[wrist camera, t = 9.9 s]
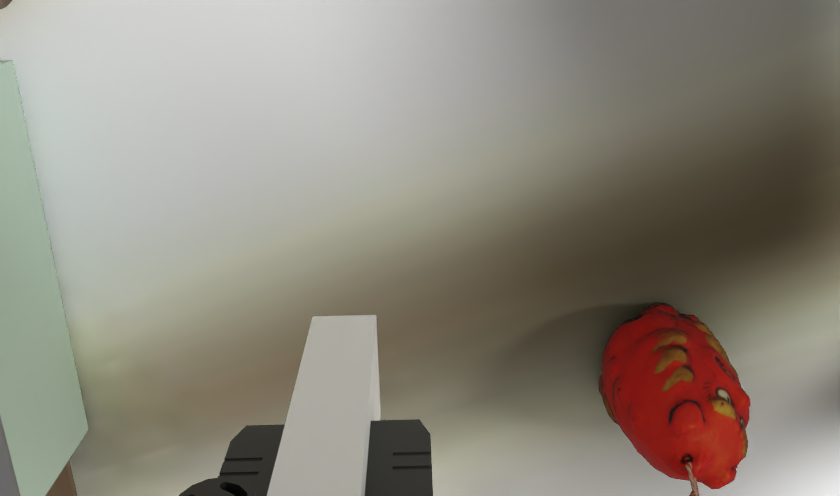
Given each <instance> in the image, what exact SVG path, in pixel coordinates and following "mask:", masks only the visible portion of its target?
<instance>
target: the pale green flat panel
mask: <svg viewBox="0 0 840 496" xmlns="http://www.w3.org/2000/svg"><path fill="white" fill-rule="evenodd" d="M88 430H89V429H88V424H87V419H86V414H85V410H84V405H83V400H82V395H81V390H80V385H79V380H78V375H77V371H76V366H75V361H74V356H73V351H72V346H71V341H70V336H69V332H68V327H67V322H66V317H65V312H64V307H63V302H62V298H61V293H60V288H59V283H58V278H57V273H56V268H55V263H54V259H53V254H52V249H51V244H50V239H49V234H48V229H47V225H46V220H45V215H44V210H43V205H42V200H41V195H40V190H39V186H38V181H37V176H36V171H35V166H34V161H33V156H32V151H31V147H30V142H29V137H28V132H27V127H26V122H25V117H24V113H23V108H22V103H21V98H20V93H19V88H18V83H17V78H16V74H15V69H14V64H13V60H7V61H0V496H45V495H46V494H47V492H48V491H49V489H50V488H51V486H52V485H53V483H54V482H55V480H56V479H57V477H58V476H59V474H60V473H61V471H62V469H63V468H64V466H65V465H66V463H67V462H68V460H69V459H70V457H71V456H72V454H73V453H74V451H75V450H76V448H77V447H78V445H79V444H80V442H81V440H82V439H83V437H84V436H85V434H86V433H87V431H88Z"/></svg>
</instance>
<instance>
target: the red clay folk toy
mask: <svg viewBox="0 0 840 496" xmlns="http://www.w3.org/2000/svg"><path fill="white" fill-rule="evenodd" d="M641 315H642V317H641V318H639V319H638V318H636V319H634V320H629V321H626V322H624V323H623V324H621V325H620V327H619V328H617V329H616V331H615V332H614V334H613V335H612V336H611V338H610V339H609V341H608V343H607V346H606V348H605V351H604V354H603V360H602V373H601V376H600V378H599V391H600V393H601V395H602V397H603V401H604V404H605V407H606V410H607V412H608V415H609V416H610V417H611V418H612V419H613V421H614V422H615V423H617V424H618V425H619V426H620V427H621V429H622V430H623V432H624V433H625V435H626V436H627V437H628V438H629V440H630V441H631V442H632V444H633V445H634V447H635V449H636V450H637V452H639V453H640V454H641V455H642V456H643V457H644V458H645V459H646V460H647V461H648V462H649V463H650V464H651V465H652V466H653V467H654V468H655V469H657V470H659V471H661V472H662V473H664V474H666V475H667V476H669V477H671V478H675V479H682V480H689V481H690V482H691V487H692V492H691V494H690V495H689V496H699V493H698V487H697V482H696V481H698V482H701V483H703V484H705V485H706V486H708V487H710V488H711V489H719V488H721V487H723V486H725V485H727V484H729V483H730V482H732V481H733V480H734V478H735V475H736V468H737V465H738V464H739V462H740V461H741V460H742V459H743V458H745V456H746V452H747V447H748V440H747V436H746V431H745V428H746V426H747V424H748V421H749V406H750V399H749V397H748V395H747V394H746V393H745V391H744V390H743V389H742V388H741V385H740V382H739V379H738V375H737V373H736V371H735V369H734V368H733V367H732V365H731V364H730V362H729V359H728V357H727V354H726V352H725V351H724V349H723V348H722V346H721V345H720V343H719V341H718V340H717V339H716V338H715V337H714V335H713V333H712V332H711V331H710V330H709V328H708V327H707V326H706V325H705V324H704V323H702V322H700V321H699V320H698V318H696V317H695V316H694V315H684V314H680V313H679V312H677V311H676V310H675V309H674V308H673V307H671V306H670V305H668V304H665V303H658V304H653V305H651V306H649V307H648V308H647V310H645V311H643V312H642V313H641Z"/></svg>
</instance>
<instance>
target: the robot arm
mask: <svg viewBox="0 0 840 496" xmlns="http://www.w3.org/2000/svg"><path fill="white" fill-rule="evenodd" d="M380 415H381V410H380V389H379V367H378V345H377V324H376V315H351V316H313V317H312V321H311V325H310V329H309V333H308V337H307V340H306V344H305V348H304V352H303V356H302V360H301V364H300V368H299V372H298V376H297V379H296V383H295V387H294V391H293V395H292V399H291V403H290V407H289V411H288V415H287V419H286V422H285V425H252V426H246V427H245V428H244V429H243V430H242V431H241V432H240V433H239V434H238V435H237V436H236V437H235V438H234V439H233V440H232V441H231V442H230V445H229V448H228V451H227V454H226V456H225V462H223V465H222V468H221V470H220V476H218V478H213V479H207V480H205V481H202V482H199V483H197V484H194V485H192V486H191V487H189V488H188V489H187V490H185V491H184V492H182V493H181V494H180V495H179V496H433V488H432V464H431V441H430V433H429V432H428V431H427V429H426V428H425V427H424V425H423V424H422V422H421V421H420V420H383V421H380Z"/></svg>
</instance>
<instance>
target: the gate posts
mask: <svg viewBox="0 0 840 496" xmlns="http://www.w3.org/2000/svg"><path fill="white" fill-rule="evenodd" d="M11 1H12V0H0V9H2V8H4V7H6V6H7V5H9V4H10V2H11ZM45 496H77V493H76V489H75V484H74V480H73V476H72V471H71V467H70V462H69V460H68V462H67V463H66V465H65V466H64V468H63V469H62V471H61V473H60V474H59V476H58V477H57V479H56V480H55V482H54V483H53V485H52V486H51V488H50V489H49V491H48V492H47V494H46V495H45Z"/></svg>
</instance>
